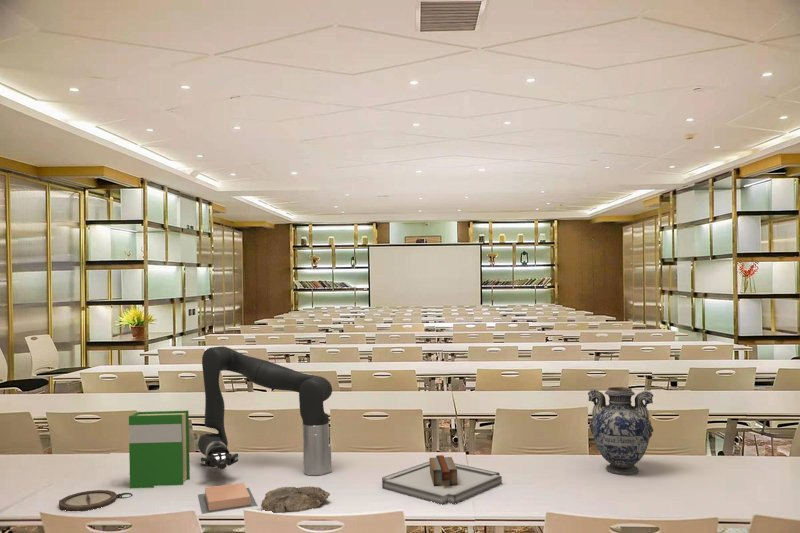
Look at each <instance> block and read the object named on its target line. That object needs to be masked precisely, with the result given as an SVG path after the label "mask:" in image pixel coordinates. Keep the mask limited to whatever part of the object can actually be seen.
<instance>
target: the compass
mask: <svg viewBox="0 0 800 533" xmlns="http://www.w3.org/2000/svg"><path fill="white" fill-rule="evenodd" d="M123 495H124V496H123ZM125 495H129V496H125ZM133 496H134V495H133V493H131V492H122V493H118V494H117V493H116V492H115V491H112V490H107V489H96V490H95V489H94V490H85V491H81V492H76V493H73V494H69V495H67V496H65V497H63V498H61V499H59V501H58V507H60V508H59V509H60V510H61V511H63V510H66V511H65V512H67V511H81V512H89V511H93V509H94V510H98V509H97V508H99V509H101V507H102V508H104V507H107V506H110V505H112V504H113V503H115V502H116V500H117V499H127V498H132V497H133ZM88 510H89V511H88Z"/></svg>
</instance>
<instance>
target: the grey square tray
mask: <svg viewBox="0 0 800 533" xmlns="http://www.w3.org/2000/svg"><path fill="white" fill-rule="evenodd" d="M502 479H503V476H502V475H500V472H497V471H492V470H487V469H483V468H478V467H474V466H468V465H464V464H461V463H455V462H454V459H453V457H452V456H444V455H443V454H441V455H440V454H439V455H435V457H429V460H428V461H427V462H423V463H421V464H418V465H415V466H411V467H409V468H406V469H402V470H400V471H397V472H394V473H391V474H388V475H385V476H382V477H381V482H382V484H381V486H382V489H384V490H387V491H391V492H394V493H398V494H401V495H404V496H405V495H406V496H408V497H412V498H416V499H419V498H420V500H423V499H424V501H427V500H428V501H427V502H430V501H432V502H431V503H434V502H435V504H438V503H439V504H438V505H441V504H442V506H443V505H445V503H446V504H447V502H449V503H448V504H451V503H452V505H455V503H456V504H458V502H459V503H461V502H463V501H465V499H466V500H468V499H470V498H472V497H475V496H477V495H479V494H481V493H484V492H486V491H489V490H491V489H493V488H496V487H497V486H500V485H502V484H503V482H502ZM469 497H470V498H469ZM467 498H468V499H467ZM462 500H463V501H462ZM460 501H461V502H460Z"/></svg>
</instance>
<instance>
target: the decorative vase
mask: <svg viewBox="0 0 800 533" xmlns="http://www.w3.org/2000/svg"><path fill="white" fill-rule="evenodd" d="M587 395H588V399H587V400H588V402H592V403H593V404H594V405H593V408H592V411H591V414H592V417H591V421H590V422H589V425H588V427H589V429H590V433H591V435H593V440H594V442H595V445H596V447H597V450H598V452H599V453H600V455H601V456H602V458H603V459H604V460H606V462H608V463H609V464H607V465H606V466H605V467H606V468H605V470H606V471H607V472H609V473H611V474H613V475H614V474H615V475H625V476H631V475H637V474H638V473H640V470H639V468H638V467H637V466H636V464H637V463H638V462H640V461H641V459H642V458H643V457H644V455H645V453H646V451H647V449H648V446H649V443H650V438H651V437H652V436H653V433H654V429H653V426H652V422H651V420H649V419H650V414H649V413H650V412H649V410H648V408H647V407H648V405H649V404H653V403H654V401H653V397H654V394H653V393H652V391H649V390H643V391H640V392H639V393H637V394H636V393H635V392H634V391H633V390H632V388H630V387H624V386H623V387H621V386H619V387H618V386H613V387H608V388H607V390H606V391H604V394H603V392H601V391H599V390H598V389H592V390H591V389H589V392H588V393H587ZM605 395H607V396H608V403H609V404H607V402H606V396H605ZM633 396H635V397H634V405H632V402H633V401H632V397H633ZM643 401H644V402H643Z"/></svg>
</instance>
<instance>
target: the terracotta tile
mask: <svg viewBox="0 0 800 533" xmlns="http://www.w3.org/2000/svg"><path fill="white" fill-rule="evenodd" d="M246 488H247V487H246V485H245V483H244V482H238V483H230V484H222V485H216V486H207V487H204V494H205V498H206V502H207V506H208V510H209V511H215V510H222V509H229V508H236V507H242V506H249V505H250V495H249V493H248V491H247V489H246Z"/></svg>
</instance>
